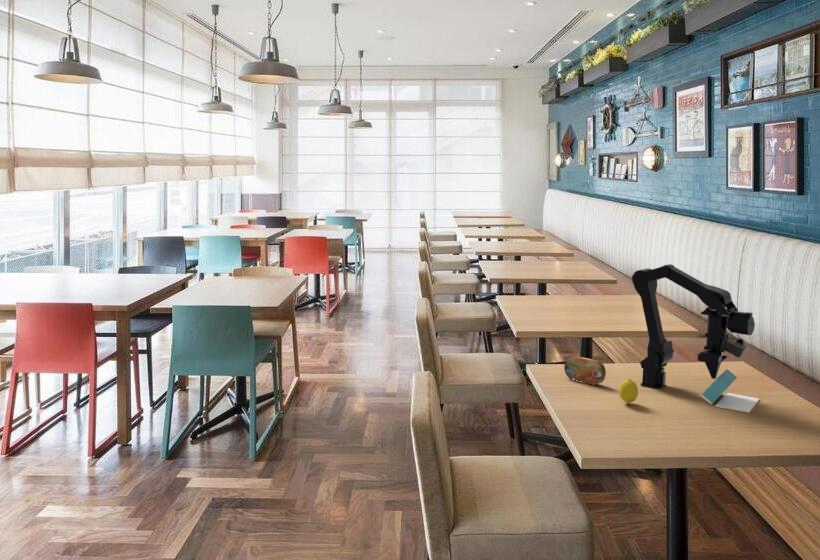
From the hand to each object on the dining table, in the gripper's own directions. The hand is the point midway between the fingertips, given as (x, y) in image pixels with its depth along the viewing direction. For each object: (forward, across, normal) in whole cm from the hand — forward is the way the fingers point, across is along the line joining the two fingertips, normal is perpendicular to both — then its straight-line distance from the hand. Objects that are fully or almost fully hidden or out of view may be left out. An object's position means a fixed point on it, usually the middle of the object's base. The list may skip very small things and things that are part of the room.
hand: (713, 378), depth 226 cm
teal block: (+6, 0, 0) cm, 6 cm away
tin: (+7, -7, +40) cm, 41 cm away
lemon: (+7, -21, +20) cm, 30 cm away
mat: (+7, 0, -8) cm, 10 cm away
